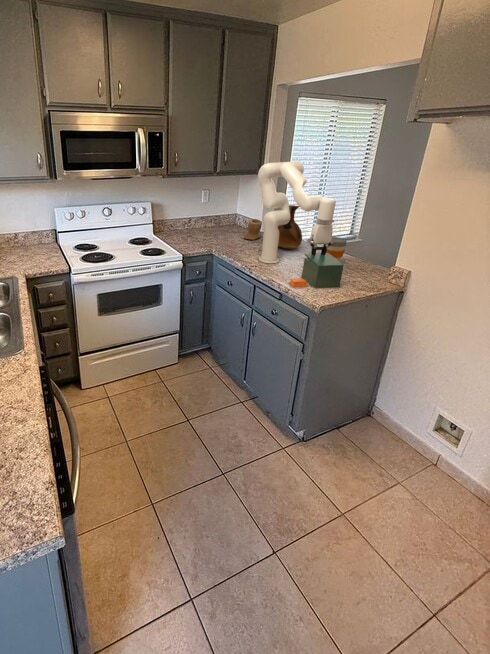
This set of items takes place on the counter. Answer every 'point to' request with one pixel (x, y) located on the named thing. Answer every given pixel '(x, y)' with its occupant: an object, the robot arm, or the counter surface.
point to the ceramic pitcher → (290, 232)
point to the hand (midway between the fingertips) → (318, 254)
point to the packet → (298, 282)
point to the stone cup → (253, 229)
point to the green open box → (321, 275)
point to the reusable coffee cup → (337, 248)
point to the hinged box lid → (323, 259)
